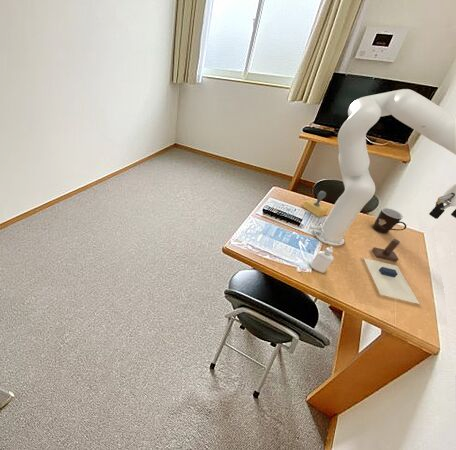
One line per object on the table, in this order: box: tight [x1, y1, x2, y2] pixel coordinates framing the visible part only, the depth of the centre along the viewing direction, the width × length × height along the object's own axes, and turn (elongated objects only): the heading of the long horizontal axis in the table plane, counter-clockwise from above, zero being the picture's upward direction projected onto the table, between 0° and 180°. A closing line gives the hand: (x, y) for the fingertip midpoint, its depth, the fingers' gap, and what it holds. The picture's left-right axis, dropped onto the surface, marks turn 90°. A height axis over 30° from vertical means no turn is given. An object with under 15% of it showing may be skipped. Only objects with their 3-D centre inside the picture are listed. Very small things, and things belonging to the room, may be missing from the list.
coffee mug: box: [372, 207, 407, 235], centre depth 131 cm, size 12×9×10 cm
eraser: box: [379, 267, 398, 278], centre depth 109 cm, size 5×2×2 cm, turn 74°
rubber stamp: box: [302, 190, 329, 218], centre depth 141 cm, size 10×6×12 cm, turn 27°
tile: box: [363, 257, 420, 305], centre depth 107 cm, size 13×20×1 cm, turn 164°
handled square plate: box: [371, 238, 401, 263], centre depth 116 cm, size 8×5×10 cm, turn 74°
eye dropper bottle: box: [310, 245, 334, 274], centre depth 106 cm, size 4×6×12 cm
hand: (443, 216), depth 105 cm, fingers open, 9 cm apart
